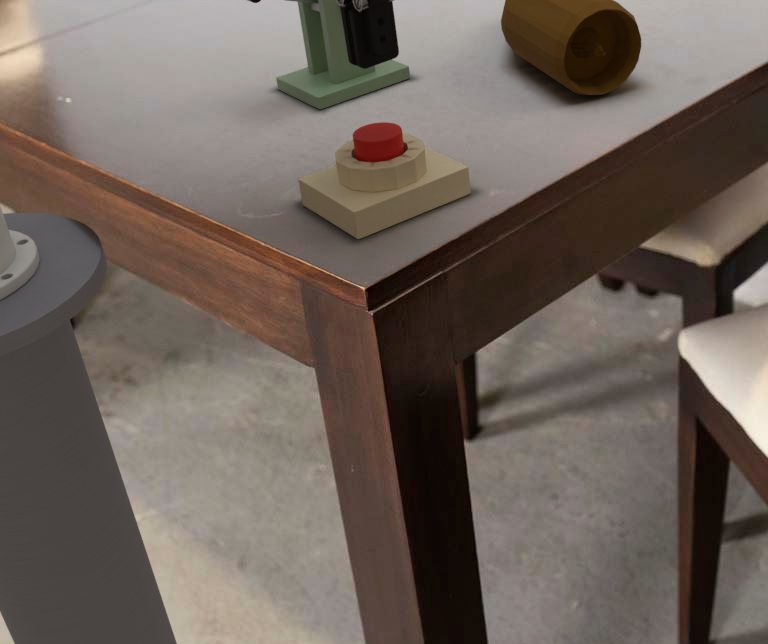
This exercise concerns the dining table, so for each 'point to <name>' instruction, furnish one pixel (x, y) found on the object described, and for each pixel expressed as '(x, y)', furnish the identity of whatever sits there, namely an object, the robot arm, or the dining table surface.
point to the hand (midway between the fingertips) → (374, 60)
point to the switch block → (383, 187)
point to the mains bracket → (333, 62)
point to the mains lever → (314, 3)
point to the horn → (575, 41)
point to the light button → (378, 142)
